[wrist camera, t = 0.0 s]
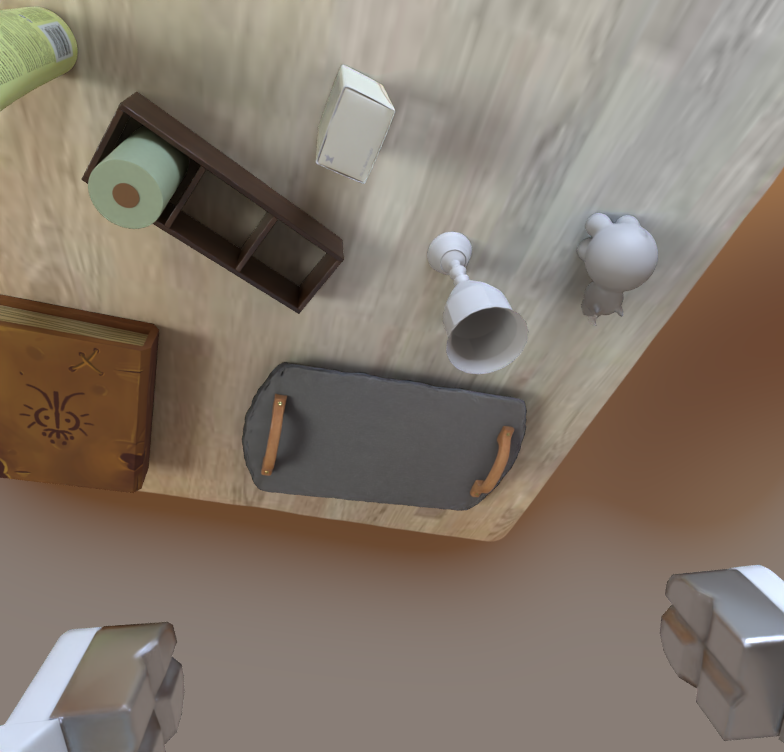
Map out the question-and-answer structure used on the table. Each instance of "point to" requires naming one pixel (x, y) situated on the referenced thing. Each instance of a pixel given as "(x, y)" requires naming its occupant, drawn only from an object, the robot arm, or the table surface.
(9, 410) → the diary
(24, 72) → the tube
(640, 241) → the round bodied animal figurine
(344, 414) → the serving tray
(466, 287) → the chalice
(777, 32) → the table surface
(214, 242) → the rack
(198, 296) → the table surface
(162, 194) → the towel roll
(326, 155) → the cosmetic box
